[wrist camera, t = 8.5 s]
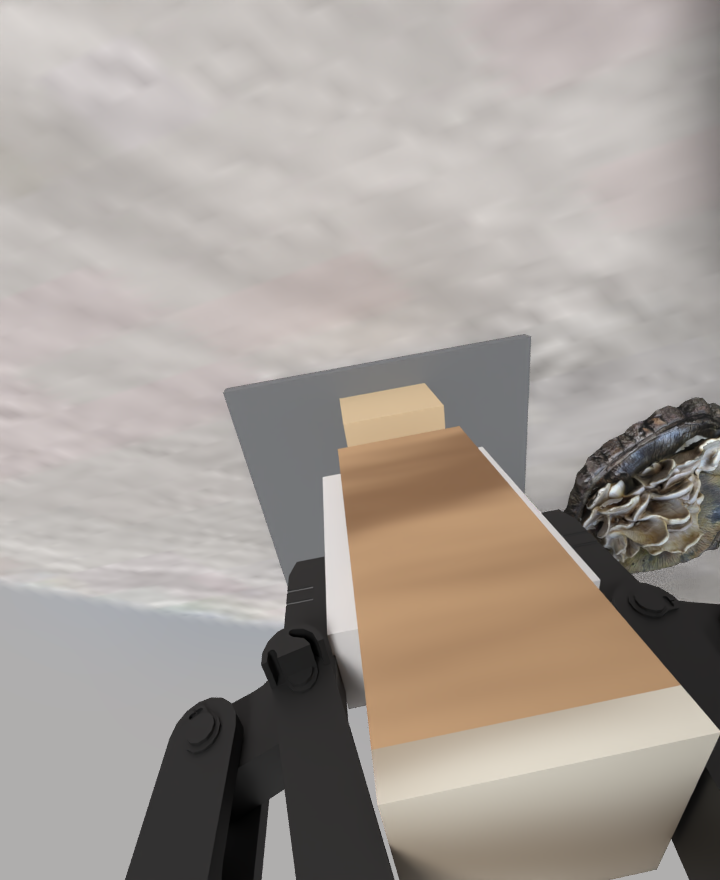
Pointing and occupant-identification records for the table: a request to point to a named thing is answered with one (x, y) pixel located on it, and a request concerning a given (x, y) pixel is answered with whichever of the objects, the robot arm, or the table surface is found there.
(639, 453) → the oyster shell
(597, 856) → the teak block
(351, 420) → the board
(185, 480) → the table surface
